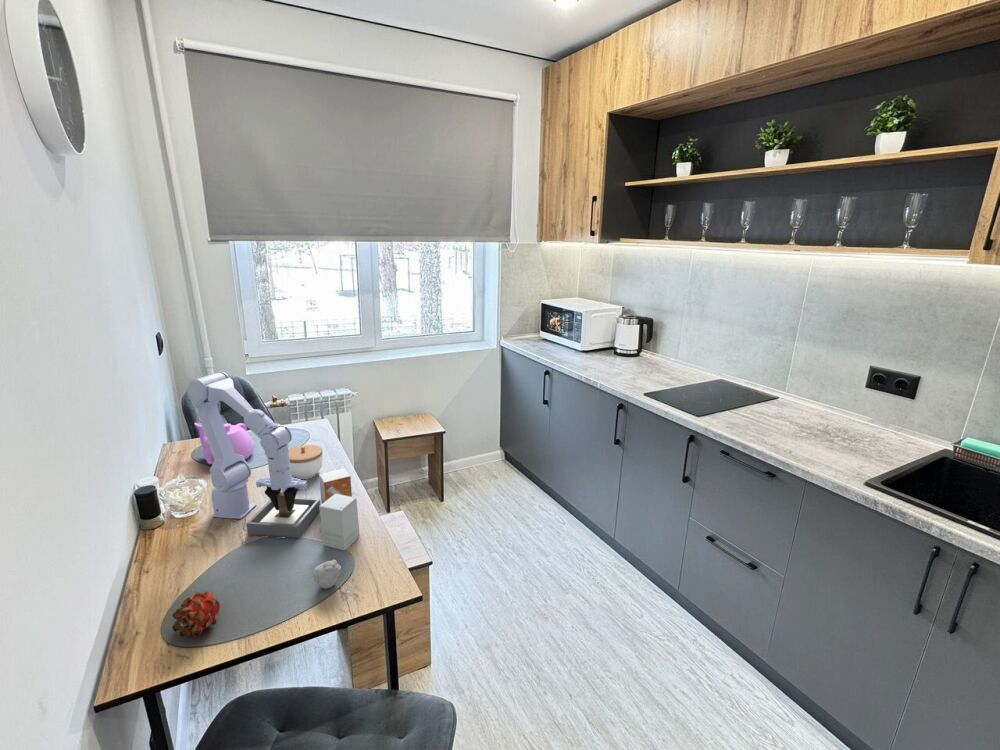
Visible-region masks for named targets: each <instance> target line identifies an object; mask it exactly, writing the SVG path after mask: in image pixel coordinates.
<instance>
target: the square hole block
mask: <svg viewBox="0 0 1000 750" xmlns="http://www.w3.org/2000/svg"><path fill="white" fill-rule="evenodd" d="M320 505H321V498H309V497H295V501H294V508H293V509H292V510H291V516H290V517H288V518H283V517H280V515H279V510H276V509H275V507H274V505H273V503H272V501H271V500H270V499H269V501H268V502H267V503H266V504H264V506H262V508H260V510H258V512H257V513H255V514H254V515H253V516H252V517H251V518H250V519H249V520H248V521H247V522H246V523H245V524H246V531H247V536H249V537H261V536H268V537H267V538H276V537H285V538H284V539H291V538H295V540H299V539H300V538H301V537H302V535H303V534H304V533H305V531H306V530H307V529H308V527H309V526H311V524H312V522H313V521H315V519H316V518H317V517H318V515H320V509H319V506H320ZM299 537H300V538H299Z"/></svg>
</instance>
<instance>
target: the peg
mask: <svg viewBox="0 0 1000 750" xmlns="http://www.w3.org/2000/svg"><path fill="white" fill-rule="evenodd" d="M283 492H284V491H283ZM283 492H282V491H281V493H279V494H278V495H277V500H278V508H279V515H280V517H283V518H288V517H290V516H291V511H288V509H287V502H286V499H285V496H284V494H283Z"/></svg>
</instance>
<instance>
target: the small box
mask: <svg viewBox="0 0 1000 750" xmlns="http://www.w3.org/2000/svg"><path fill="white" fill-rule="evenodd" d="M318 480H319V490H320V491H319V492H320V501H321V504H323V503H324V502H325V501H327V500H328V499H329V498H330V497H332V496H333V495H334V494H340V495H345V496H350V497H353V496H352V495H353V493H352V492H353V490H352V477H351V475H350V473H349V472H348V470H347V468H346V467H345V468H340V469H339V468H338V469H335V470H330V471H327V472H324V473H323V472H322V473H319V474H318Z"/></svg>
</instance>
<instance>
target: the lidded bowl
mask: <svg viewBox="0 0 1000 750" xmlns="http://www.w3.org/2000/svg"><path fill="white" fill-rule="evenodd" d="M288 450H289V459H290V467H291V476H292V477H293V478H295V477H296V478H297V479H306V480H309V479H308V478H310V479H312V478H311V477H313V476H314V477H315V476H316V475H317V473H319V472H320V470H321V468H322V465H323V449H322V448H321V446H319V445H315V444H303V445H298V446H295V447H292V448H290V449H289V448H288ZM314 477H313V478H314Z"/></svg>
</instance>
